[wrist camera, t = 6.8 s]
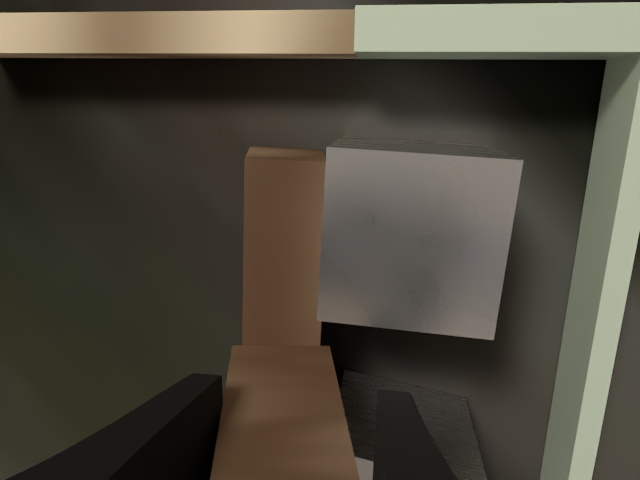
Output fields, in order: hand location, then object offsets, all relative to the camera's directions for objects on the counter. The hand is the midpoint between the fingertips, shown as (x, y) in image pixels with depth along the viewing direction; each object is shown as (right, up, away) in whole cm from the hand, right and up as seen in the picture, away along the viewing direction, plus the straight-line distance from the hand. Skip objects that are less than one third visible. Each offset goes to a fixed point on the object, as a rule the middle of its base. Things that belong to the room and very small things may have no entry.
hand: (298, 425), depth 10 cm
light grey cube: (+3, +5, +4) cm, 7 cm away
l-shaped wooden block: (-1, +1, +6) cm, 6 cm away
